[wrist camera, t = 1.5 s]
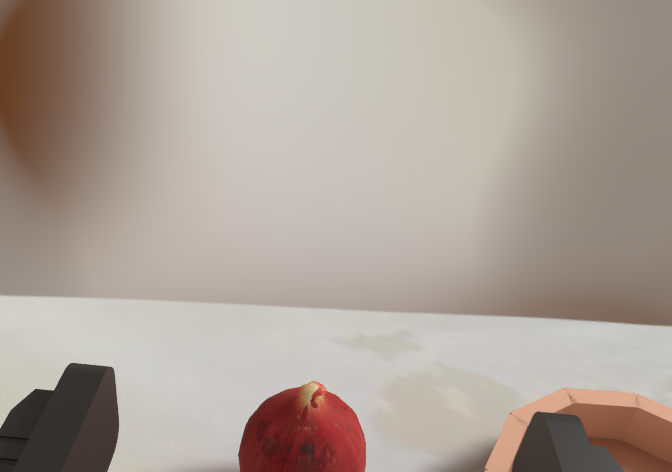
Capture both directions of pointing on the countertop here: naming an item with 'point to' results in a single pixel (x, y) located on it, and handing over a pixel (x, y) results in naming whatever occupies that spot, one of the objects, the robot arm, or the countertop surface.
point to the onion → (303, 434)
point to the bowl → (598, 428)
